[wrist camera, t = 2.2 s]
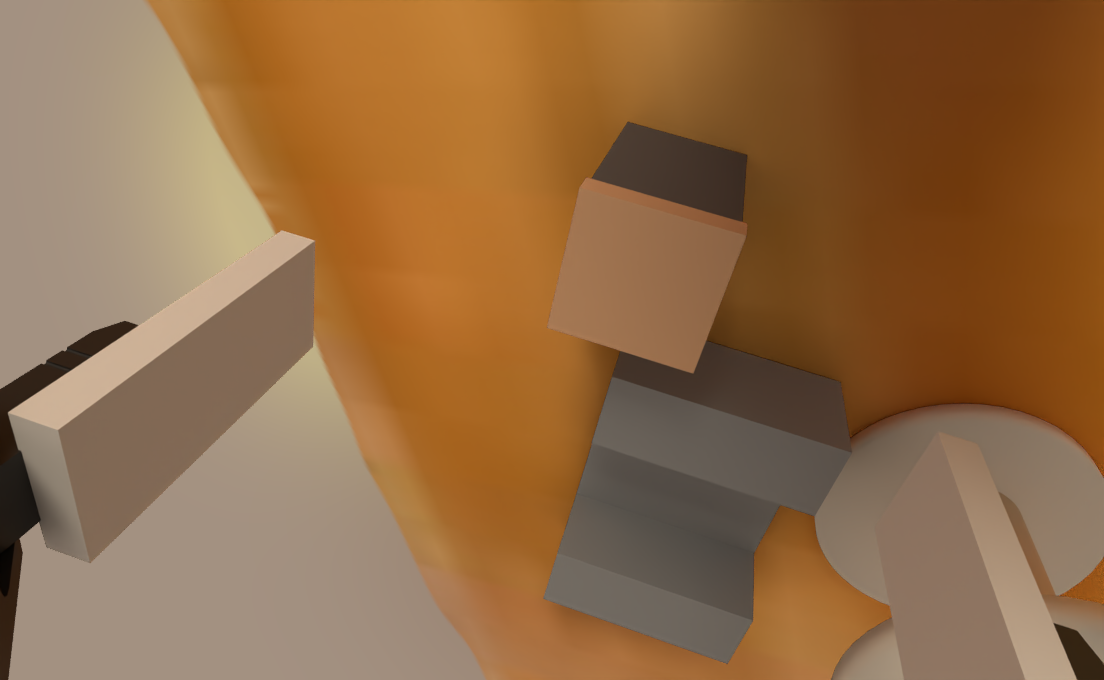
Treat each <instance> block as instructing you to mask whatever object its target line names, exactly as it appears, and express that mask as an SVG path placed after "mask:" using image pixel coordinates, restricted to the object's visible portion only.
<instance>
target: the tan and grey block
mask: <svg viewBox="0 0 1104 680" xmlns="http://www.w3.org/2000/svg"><path fill="white" fill-rule="evenodd" d="M746 164H747V155H745V154H741V153H738V152H734V151H731V150H727V149H723V148H720V147H716V146H713V145H709V144H705V143H702V142H698V141H695V140H691V139H687V138H684V137H680V136H677V135H673V134H669V133H666V132H662V131H659V130H655V129H652V128H648V127H644V126H641V125H637V124H634V123H630V122H627V124H626V126H625V127H624V129H623V130H622V132H621V133H620V135H619V136H618V138H617V140H616V141H615V143H614V144H613V146H612V147H611V149H610V150H609V152H608V154H607V155H606V157H605V158H604V160H603V161H602V163H601V164H600V166H599V168H598V169H597V171H596V172H595V174H594V175H593V177H592V178H587V177H586V179H585V180H584V182H583V183H582V185H581V186H580V188H579V192H578V197H577V201H576V205H575V209H574V214H573V218H572V222H571V227H570V231H569V235H568V239H567V244H566V248H565V252H564V257H563V261H562V265H561V269H560V274H559V278H558V282H557V286H556V291H555V295H554V299H553V304H552V308H551V312H550V316H549V321H548V325H547V328H549V329H552V330H555V331H559V332H562V333H565V334H568V335H571V336H574V337H578V338H581V339H584V340H587V341H590V342H594V343H597V344H600V345H603V346H606V347H610V348H613V349H616V350H619V351H622V352H626V353H629V354H632V355H635V356H638V357H642V358H645V359H648V360H651V361H654V362H658V363H661V364H664V365H667V366H670V367H674V368H677V369H680V370H683V371H686V372H690V373H694V370H695V368H696V365H697V363H698V360H699V358H700V355H701V352H702V350H703V347H704V345H705V342H706V340H707V337H708V334H709V332H710V329H711V327H712V324H713V322H714V319H715V316H716V314H717V311H718V309H719V306H720V303H721V301H722V298H723V296H724V293H725V291H726V288H727V285H728V283H729V280H730V278H731V275H732V273H733V270H734V267H735V265H736V262H737V260H738V257H739V255H740V252H741V249H742V247H743V244H744V242H745V239H746V237H747V223H744V222H742V221H743V206H744V192H745V178H746Z"/></svg>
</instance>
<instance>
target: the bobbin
mask: <svg viewBox="0 0 1104 680" xmlns="http://www.w3.org/2000/svg"><path fill="white" fill-rule="evenodd" d="M937 432H942V433H945V434H948V435H951V436H955V437H958V438H961V439H964V440H968V441H971V442H974V443H977V444H978V445H979V448H980V450H981V453H982V455H983V457H984V460H985V462H986V464H987V467H988V469H989V472H990V474H991V476H992V479H993V481H994V483H995V486H996V488H997V491H998V493H999V495H1000V498H1001V500H1002V503H1003V505H1004V507H1005V510H1006V512H1007V514H1008V517H1009V519H1010V522H1011V524H1012V526H1013V529H1014V531H1015V533H1016V536H1017V538H1018V541H1019V543H1020V545H1021V548H1022V550H1023V552H1024V555H1025V557H1026V560H1027V562H1028V564H1029V567H1030V569H1031V572H1032V574H1033V576H1034V579H1035V581H1036V583H1037V586H1038V588H1039V591H1040V593H1041V595H1042V598H1043V600H1044V602H1045V605H1046V607H1047V610H1048V612H1049V614H1050V617H1051V619H1052V622H1053V623H1056V624H1059V625H1062V626H1065V627H1068V628H1071V629H1074V630H1077V631H1078V632H1079V634H1080V635H1081V636H1082V637H1083V638H1084V640H1085V641H1086V642H1087V643H1088V645H1089V646H1090V647H1091V648H1092V650H1093V651H1094V652H1095V653H1096V655H1097V656H1098V657H1099V658H1100V660H1101V661H1102V662H1103V663H1104V604H1101V603H1097V602H1092V601H1087V600H1081V599H1076V598H1071V597H1064V596H1059V595H1061V594H1063V593H1065V592H1067V591H1068V590H1070V589H1071V588H1072V587H1074V586H1075V585H1077V584H1078V583H1080V582H1081V581H1082V580H1083V579H1084V578H1085V577H1086V576H1088V575H1089V574H1090V573H1091V572H1092V571H1093V570H1094V569H1095V567H1096V566H1097V565H1098V564H1099V563H1100V561H1101V560H1102V559H1103V557H1104V478H1103V476H1102V474H1101V473H1100V471H1099V469H1098V468H1097V466H1096V464H1095V463H1094V461H1093V460H1092V458H1091V457H1090V456H1089V454H1088V453H1087V452H1086V451H1085V449H1084V448H1083V447H1082V446H1081V445H1080V444H1079V443H1078V442H1076V441H1075V440H1074V439H1073V438H1072V437H1071V436H1069V435H1068V434H1066V433H1065V432H1064V431H1062V430H1061V429H1059V428H1058V427H1056V426H1054V425H1052V424H1050V423H1048V422H1046V421H1044V420H1042V419H1040V418H1037V417H1035V416H1032V415H1029V414H1026V413H1024V412H1020V411H1016V410H1012V409H1008V408H1004V407H998V406H991V405H984V404H963V403H961V404H942V405H935V406H928V407H922V408H917V409H913V410H909V411H905V412H902V413H899V414H896V415H893V416H890V417H888V418H885V419H883V420H881V421H879V422H876V423H874V424H872V425H870V426H868V427H867V428H865V429H863V430H862V431H860V432H859V433H857V434H856V435H854V436H853V437H852V438H850V443H851V449H852V454H851V456H850V457H849V459H848V461H847V462H846V464H845V466H844V467H843V469H842V471H841V473H840V474H839V476H838V478H837V479H836V481H835V483H834V484H833V486H832V488H831V489H830V491H829V493H828V495H827V496H826V498H825V500H824V501H823V503H822V505H821V506H820V508H819V510H818V511H817V513H816V515H815V526H816V535H817V538H818V541H819V545H820V547H821V549H822V551H823V553H824V555H825V557H826V559H827V560H828V562H829V563H830V564H831V566H832V567H833V568H834V569H835V570H836V572H837V573H838V574H839V575H840V576H841V577H842V578H843V579H845V580H846V581H847V582H848V583H849V584H851V585H852V586H853V587H855V588H856V589H858V590H859V591H861V592H862V593H864V594H865V595H867V596H869V597H871V598H873V599H875V600H877V601H879V602H882V603H884V604H887V605H889V606H890V604H889V599H888V594H887V589H886V584H885V579H884V573H883V568H882V563H881V558H880V553H879V548H878V542H877V537H876V532H875V526H876V524H877V523H878V521H879V520H880V518H881V517H882V515H883V514H884V512H885V511H886V509H887V508H888V506H889V505H890V503H891V501H892V500H893V498H894V497H895V495H896V494H897V492H898V491H899V489H900V488H901V486H902V485H903V483H904V482H905V480H906V479H907V477H908V476H909V474H910V473H911V471H912V470H913V468H914V467H915V465H916V464H917V462H918V461H919V459H920V458H921V456H922V455H923V453H924V452H925V450H926V448H927V447H928V445H929V444H930V442H931V441H932V439H933V438H934V436H935V435H936V433H937ZM831 680H904V677H903V671H902V666H901V661H900V656H899V651H898V646H897V640H896V635H895V630H894V625H893V620H892V618H890V619H888V620H886V621H884V622H882V623H881V624H879V625H877V626H876V627H874V628H872V629H871V630H869V631H867V632H866V633H865V634H864V635H863V636H861V637H860V638H859V639H858V640H856V641H855V642H854V643H853V644H852V645H851V646H850V648H849V649H848V650H847V651H846V652H845V653H844V654H843V656H842V657H841V659H840V661H839V662H838V664H837V666H836V667H835V670H834V673H833V676H832V679H831Z"/></svg>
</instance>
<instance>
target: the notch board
mask: <svg viewBox="0 0 1104 680" xmlns="http://www.w3.org/2000/svg"><path fill="white" fill-rule="evenodd" d="M851 454H852V449H851V443H850V436H849V430H848V424H847V418H846V412H845V406H844V400H843V393H842V387H841V382H839V381H836V380H832V379H829V378H826V377H823V376H819V375H816V374H813V373H810V372H806V371H803V370H800V369H796V368H793V367H790V366H787V365H783V364H780V363H777V362H774V361H770V360H767V359H764V358H761V357H757V356H754V355H751V354H748V353H744V352H741V351H738V350H735V349H731V348H728V347H725V346H722V345H718V344H715V343H712V342H709V341H706V342H705V345H704V347H703V350H702V352H701V355H700V358H699V360H698V363H697V365H696V368H695V370H694V373H690V372H686V371H683V370H680V369H677V368H674V367H670V366H667V365H664V364H661V363H658V362H654V361H651V360H648V359H645V358H642V357H638V356H635V355H632V354H629V353H626V352H622V351H620V354H619V357H618V360H617V363H616V366H615V369H614V372H613V375H612V379H611V382H610V385H609V388H608V392H607V395H606V398H605V401H604V405H603V408H602V411H601V414H600V417H599V421H598V424H597V427H596V430H595V434H594V437H593V440H592V446H591V449H590V452H589V455H588V459H587V462H586V465H585V468H584V471H583V475H582V478H581V481H580V484H579V488H578V491H577V494H576V497H575V500H574V503H573V506H572V510H571V513H570V516H569V519H568V522H567V525H566V528H565V531H564V535H563V538H562V541H561V544H560V547H559V550H558V553H557V556H556V560H555V563H554V566H553V569H552V573H551V576H550V579H549V582H548V586H547V589H546V592H545V595H544V598H543V599H546V600H548V601H551V602H554V603H557V604H560V605H563V606H565V607H568V608H571V609H574V610H577V611H579V612H582V613H585V614H588V615H591V616H594V617H596V618H599V619H602V620H605V621H608V622H611V623H613V624H616V625H619V626H622V627H625V628H627V629H630V630H633V631H636V632H639V633H642V634H644V635H647V636H650V637H653V638H656V639H659V640H661V641H664V642H667V643H670V644H673V645H675V646H678V647H681V648H684V649H687V650H690V651H692V652H695V653H698V654H701V655H704V656H707V657H709V658H712V659H715V660H718V661H721V662H723V663H726V664H728V662H729V660H730V659H731V657H732V655H733V654H734V652H735V650H736V649H737V647H738V645H739V644H740V642H741V640H742V638H743V637H744V635H745V633H746V632H747V630H748V628H749V627H750V625H751V623H752V622H753V591H754V552H755V550H756V549H757V547H758V545H759V543H760V541H761V539H762V538H763V536H764V534H765V532H766V530H767V528H768V527H769V525H770V523H771V521H772V519H773V517H774V516H775V514H776V512H777V510H778V508H779V506H780V505H782V506H785V507H788V508H791V509H794V510H797V511H800V512H803V513H806V514H809V515H812V516H815V515H816V513H817V511H818V510H819V508H820V506H821V505H822V503H823V501H824V500H825V498H826V496H827V495H828V493H829V491H830V489H831V488H832V486H833V484H834V483H835V481H836V479H837V478H838V476H839V474H840V473H841V471H842V469H843V467H844V466H845V464H846V462H847V461H848V459H849V457H850V456H851Z"/></svg>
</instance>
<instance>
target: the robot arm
mask: <svg viewBox="0 0 1104 680" xmlns="http://www.w3.org/2000/svg"><path fill="white" fill-rule="evenodd" d="M314 269H315V240H311V239H308V238H305V237H301V236H298V235H295V234H292V233H288V232H285V231H280V232H279V233H277V234H276V235H274V236H273V237H271V238H270V239H268V240H267V241H265V242H264V243H262V244H261V245H260V246H258V247H256V248H255V249H253V250H252V251H250V252H249V253H247V254H246V255H244V256H243V257H241V258H240V259H238V260H237V261H235V262H234V263H232V264H231V265H229V266H228V267H226V268H225V269H223V270H222V271H220V272H219V273H217V274H216V275H214V276H213V277H211V278H210V279H208V280H207V281H205V282H204V283H202V284H201V285H199V286H198V287H196V288H195V289H193V290H192V291H190V292H189V293H187V294H186V295H184V296H183V297H181V298H180V299H178V300H177V301H175V302H173V303H172V304H171V305H169V306H168V307H166V308H164V309H163V310H161V311H160V312H158V313H157V314H155V315H154V316H152V317H151V318H150V319H148V320H147V321H145V322H143V323H142V324H140V325H136V324H133V323H130V322H126V321H123V322H120V323H117V324H114V325H111V326H108V327H105V328H102V329H99V330H96V331H93V332H91V333H89V334H88V335H86V336H85V337H83V338H81V339H80V340H78V341H77V342H75V343H74V344H72V345H70V346H69V347H67V350H66V351H61V352H59V353H58V354H56V355H54V356H53V357H51V358H50V359H48V360H47V361H46V364H40V365H38V366H37V367H35V368H34V369H32V370H30V371H29V372H27V373H26V374H24V375H22V376H21V377H19V378H18V379H16V380H14V381H13V382H12V383H10V384H8V385H6V386H5V387H3V388H2V389H0V680H8V677H9V668H10V659H11V651H12V642H13V633H14V624H15V615H16V607H17V597H18V589H19V579H20V571H21V563H22V554H23V552H22V548H21V543H20V540H19V538H20V537H21V536H23V535H24V534H25V533H26V532H27V531H28V530H30V529H31V528H32V527H33V526H34V525H36V524H37V523H38V522H39V523H40V526H41V530H42V534H43V537H44V540H45V544H46V547H47V548H50V549H53V550H55V551H58V552H61V553H64V554H66V555H69V556H72V557H75V558H77V559H80V560H83V561H86V562H88V563H91V562H92V561H93V560H94V559H95V558H96V557H97V556H98V555H99V554H100V553H101V552H102V551H103V550H104V549H105V548H106V547H107V546H108V545H109V544H110V543H111V542H112V541H113V540H114V539H116V537H117V536H119V535H120V534H121V533H122V532H123V531H124V530H125V529H126V528H127V527H128V526H129V525H130V524H131V523H132V522H133V521H134V520H135V519H136V518H137V517H138V516H139V515H140V514H141V513H142V512H143V511H144V510H145V509H146V508H147V507H148V506H149V505H150V504H151V503H153V501H155V499H157V498H158V497H159V496H160V495H161V494H162V493H163V492H164V491H165V490H166V489H167V488H168V487H169V486H170V485H171V484H172V483H173V482H174V481H175V480H176V479H177V478H178V477H179V476H180V475H181V474H182V473H183V472H184V471H185V470H186V469H188V468H189V467H190V466H191V465H192V464H193V463H194V462H195V461H196V460H197V459H198V458H199V457H200V456H201V455H202V454H203V453H204V452H205V451H206V450H207V449H208V448H209V447H210V446H211V445H212V444H213V443H214V442H215V441H216V440H217V439H218V438H219V437H220V436H221V435H222V434H223V433H225V432H226V430H228V429H229V428H230V427H231V426H232V425H233V424H234V423H235V422H236V421H237V420H238V419H239V418H240V417H241V416H242V415H243V414H244V413H245V412H246V411H247V410H248V409H249V408H250V407H251V406H252V405H253V404H254V403H255V402H256V401H257V400H258V399H260V397H262V396H263V395H264V394H265V392H267V391H268V390H269V389H270V388H271V387H272V386H273V385H274V384H275V383H276V382H277V381H278V380H279V379H280V378H281V377H282V376H283V375H284V374H285V373H286V372H287V371H288V370H289V369H290V368H291V367H292V366H293V365H294V364H295V363H297V362H298V361H299V360H300V359H301V358H302V357H303V356H304V355H305V354H306V353H307V352H308V351H309V350H310V349H311V348H312V347H313V324H314ZM875 532H876V537H877V542H878V548H879V553H880V558H881V563H882V568H883V573H884V579H885V584H886V589H887V594H888V599H889V604H890V610H891V615H892V620H893V625H894V630H895V635H896V640H897V646H898V651H899V656H900V661H901V666H902V671H903V677H904V680H1104V663H1103V662H1102V661H1101V660H1100V658H1099V657H1098V656H1097V655H1096V653H1095V652H1094V651H1093V650H1092V648H1091V647H1090V646H1089V645H1088V643H1087V642H1086V641H1085V640H1084V638H1083V637H1082V636H1081V635H1080V634H1079V632H1078V631H1077V630H1074V629H1071V628H1068V627H1065V626H1062V625H1059V624H1056V623H1053V622H1052V619H1051V617H1050V614H1049V612H1048V610H1047V607H1046V605H1045V602H1044V600H1043V598H1042V595H1041V593H1040V591H1039V588H1038V586H1037V583H1036V581H1035V579H1034V576H1033V574H1032V572H1031V569H1030V567H1029V564H1028V562H1027V560H1026V557H1025V555H1024V552H1023V550H1022V548H1021V545H1020V543H1019V541H1018V538H1017V536H1016V533H1015V531H1014V529H1013V526H1012V524H1011V522H1010V519H1009V517H1008V514H1007V512H1006V510H1005V507H1004V505H1003V503H1002V500H1001V498H1000V495H999V493H998V491H997V488H996V486H995V483H994V481H993V479H992V476H991V474H990V472H989V469H988V467H987V464H986V462H985V460H984V457H983V455H982V453H981V450H980V448H979V445H978V444H977V443H974V442H971V441H968V440H964V439H961V438H958V437H955V436H951V435H948V434H945V433H942V432H937V433H936V435H935V436H934V438H933V439H932V441H931V442H930V444H929V445H928V447H927V448H926V450H925V452H924V453H923V455H922V456H921V458H920V459H919V461H918V462H917V464H916V465H915V467H914V468H913V470H912V471H911V473H910V474H909V476H908V477H907V479H906V480H905V482H904V483H903V485H902V486H901V488H900V489H899V491H898V492H897V494H896V495H895V497H894V498H893V500H892V501H891V503H890V505H889V506H888V508H887V509H886V511H885V512H884V514H883V515H882V517H881V518H880V520H879V521H878V523H877V524H876V526H875Z"/></svg>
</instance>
